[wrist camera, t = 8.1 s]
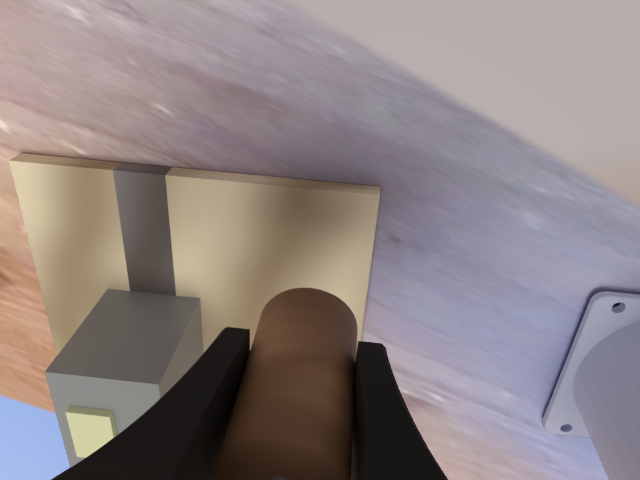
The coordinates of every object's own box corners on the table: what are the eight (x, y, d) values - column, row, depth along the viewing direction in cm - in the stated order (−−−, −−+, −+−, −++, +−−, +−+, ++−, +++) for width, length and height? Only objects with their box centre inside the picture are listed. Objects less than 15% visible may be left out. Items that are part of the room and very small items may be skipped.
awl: (358, 289, 14) (345, 553, 8) (356, 366, 16) (344, 640, 10) (256, 285, 14) (170, 539, 8) (263, 361, 16) (194, 625, 10)
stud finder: (200, 298, 22) (155, 391, 18) (205, 391, 25) (168, 493, 20) (108, 288, 22) (40, 378, 18) (123, 382, 25) (68, 481, 21)
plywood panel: (379, 186, 20) (380, 195, 19) (351, 402, 26) (350, 415, 25) (21, 153, 21) (9, 160, 20) (71, 371, 26) (63, 382, 26)
